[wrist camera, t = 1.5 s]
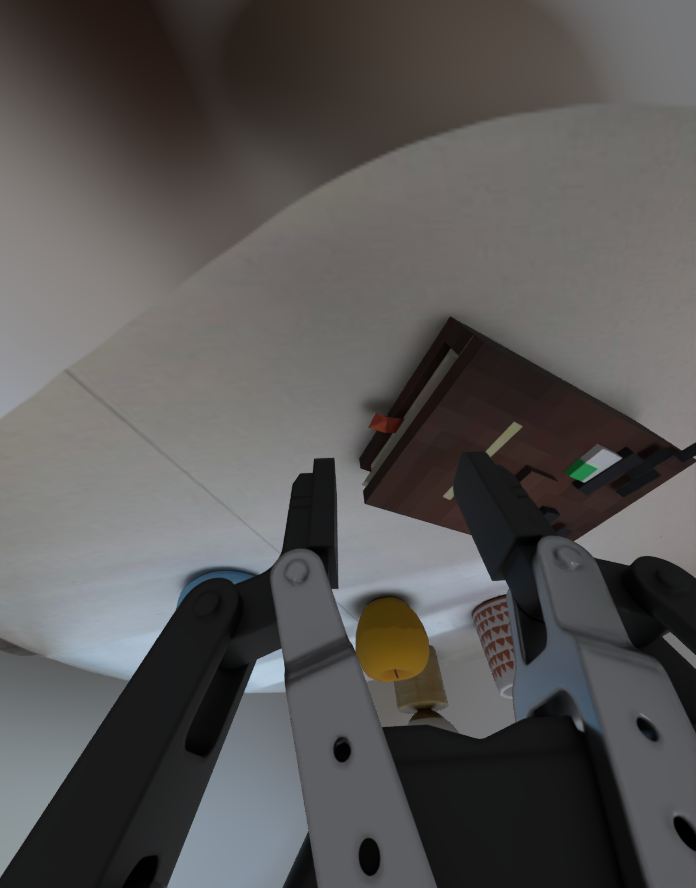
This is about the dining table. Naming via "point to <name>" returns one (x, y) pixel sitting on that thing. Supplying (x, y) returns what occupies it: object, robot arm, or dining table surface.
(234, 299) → the dining table surface
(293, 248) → the dining table surface
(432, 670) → the lamp
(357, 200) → the dining table surface
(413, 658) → the apple
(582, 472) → the decorative book
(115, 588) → the dining table surface
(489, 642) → the planter
